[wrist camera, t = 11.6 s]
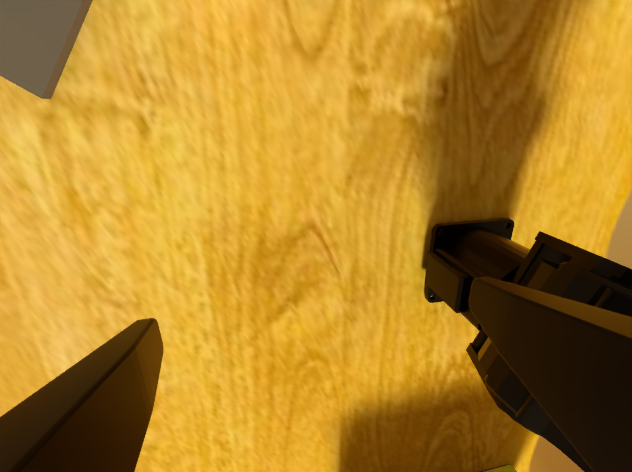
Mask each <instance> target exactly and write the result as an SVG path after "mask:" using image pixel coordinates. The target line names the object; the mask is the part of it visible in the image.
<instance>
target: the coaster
mask: <svg viewBox="0 0 632 472" xmlns="http://www.w3.org/2000/svg"><path fill="white" fill-rule="evenodd" d="M91 3H92V0H0V76H2V77H4V78H5V79H7V80H9V81H11V82H13V83H15V84H16V85H18V86H20V87H22V88H24V89H25V90H27V91H29V92H31V93H33V94H35V95H36V96H38V97H40V98H43V99H51V97H52V95H53V93H54V90H55V88H56V85H57V83H58V81H59V78H60V76H61V74H62V71H63V69H64V66H65V64H66V62H67V59H68V57H69V55H70V52H71V50H72V48H73V45H74V43H75V40H76V38H77V36H78V33H79V31H80V29H81V26H82V24H83V22H84V19H85V17H86V14H87V12H88V10H89V7H90V5H91Z"/></svg>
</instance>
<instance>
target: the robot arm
mask: <svg viewBox="0 0 632 472" xmlns="http://www.w3.org/2000/svg"><path fill="white" fill-rule="evenodd" d="M506 224H507V226H506V227H505V225H506ZM513 228H514V222H513V220H511V219H508V218H500V219H488V220H477V221H466V222H455V223H443V224H437V225H436V226H434V228H433V230H432V238H431V247H430V253H429V254H428V261H427V270H426V278H425V283H426V289H425V298H426V300H427V301H428V302H430V303H434V302H441V301H444V302H445V303H446V304H447V305H448V306H449V307H450V308H451V309H452V310H453V311H455V312H456V313H461V314H462V315H463V316H464V317H465V318H467V319H468V320H469V321H470V322H471V323H472V324H473V325H474V326H475V327H476V328H477V329H478V330H479V333H478V335H477V336H476V338H475V339H474V341H473V343H470V344H469V346H468V347H467V349H466V351H467V353H468V354H469V356H470V358H471V360H472V362H473V364H474V366H475V367H476V369H477V371H478V373H479V375H480V377H481V379H482V380H483V382H484V384H485V386H486V388H487V390H488V392H489V393H490V395H491V396H492V398H493V399H494V401H495V403H496V405H497V406H498V407H499V408H500V409H501V410H503V411H504V412H506V413H507V414H508V415H509V416H510V417H511V418H512V419H513V420H514V421H516V422H518V423H519V424H521V425H522V426H524V427H525V428H527V429H528V430H530V431H532V432H533V433H535V434H537V435H540V436H542V437H544V438H545V439H546V440H548V441H549V442H550V443H552V444H553V445H555V446H556V447H557V448H558V449H560V450H561V451H562V452H563V453H564V454H565V455H566V456H568V457H569V458H570V459H571V460H572V461H573V462H574V463H576V464H577V465H578V466H579V467H580V468H581V469H582V470H583V471H584V472H632V269H630V268H627V267H625V266H622V265H620V264H618V263H615V262H613V261H610V260H608V259H606V258H603V257H601V256H598V255H596V254H594V253H591V252H589V251H586V250H584V249H582V248H579V247H577V246H574V245H572V244H569V243H567V242H565V241H562V240H560V239H557V238H555V237H553V236H550V235H548V234H545V233H543V232H540V231H539V233H538V235H537V236H536V238H535V240H536V241H535V243H534V245H533V246H532V248H531V249H528V248H526V247H524V246H522V245H520V244H518V243H515V242H513V241H511V237H512V233H513ZM440 229H442V231H441V232H440V233H438V232H439V230H440ZM431 295H433V296H432V297H431ZM162 357H163V342H162V338H161V334H160V330H159V326H158V322H157V320H156V319H154V318H149V319H141V320H137V321H136V322H134V323H133V324H131V325H130V326H129V327H127V328H126V329H124V330H123V331H122V332H120V333H119V334H117V335H116V336H114V337H113V338H112V339H110V340H109V341H107V342H106V343H105V344H103V345H102V346H100V347H99V348H97V349H96V350H95V351H93V352H92V353H90V354H89V355H88V356H86V357H85V358H83V359H82V360H80V361H79V362H78V363H76V364H75V365H73V366H72V367H70V368H69V369H68V370H66V371H65V372H63V373H62V374H61V375H59V376H58V377H56V378H55V379H53V380H52V381H51V382H49V383H48V384H46V385H45V386H44V387H42V388H41V389H39V390H38V391H36V392H35V393H34V394H32V395H31V396H29V397H28V398H27V399H25V400H24V401H22V402H21V403H19V404H18V405H17V406H15V407H14V408H12V409H11V410H9V411H8V412H7V413H5V414H4V415H2V416H1V417H0V472H134V471H135V468H136V464H137V461H138V458H139V455H140V451H141V448H142V445H143V441H144V438H145V435H146V431H147V428H148V425H149V421H150V418H151V414H152V411H153V406H154V401H155V396H156V390H157V384H158V379H159V373H160V368H161V362H162Z"/></svg>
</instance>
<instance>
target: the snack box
mask: <svg viewBox="0 0 632 472" xmlns="http://www.w3.org/2000/svg"><path fill="white" fill-rule="evenodd" d="M484 472H517V471H516V470H515V469H514V467H513V466H512V465H505V466H502V467H498V468H495V469H491V470H487V471H484Z"/></svg>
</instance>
